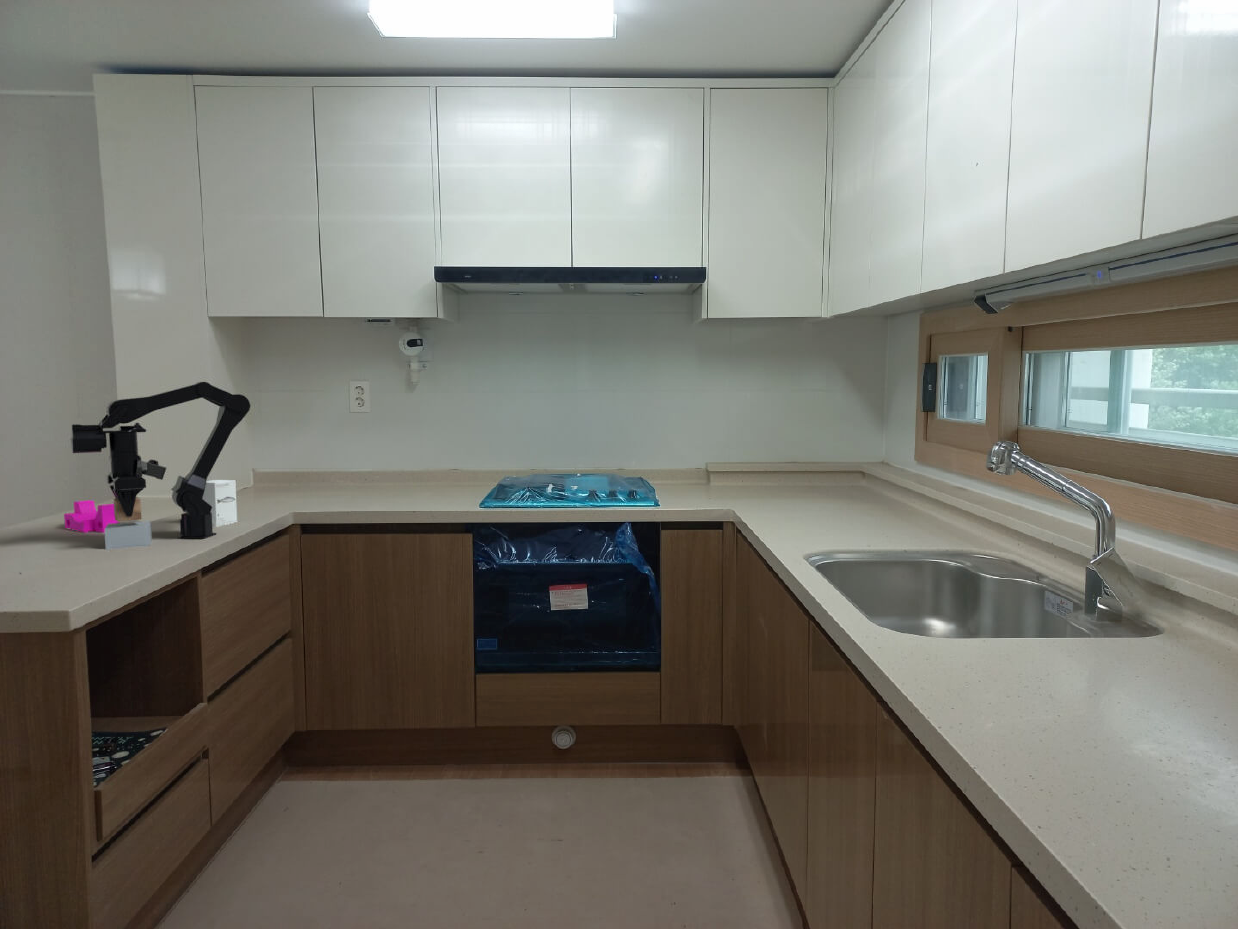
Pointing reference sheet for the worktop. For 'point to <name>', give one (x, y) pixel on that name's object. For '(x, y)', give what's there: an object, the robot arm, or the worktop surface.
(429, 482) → the worktop surface
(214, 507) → the supplement box
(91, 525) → the toy block
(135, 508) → the walnut cube
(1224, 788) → the worktop surface
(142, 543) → the slate base block
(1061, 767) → the worktop surface
